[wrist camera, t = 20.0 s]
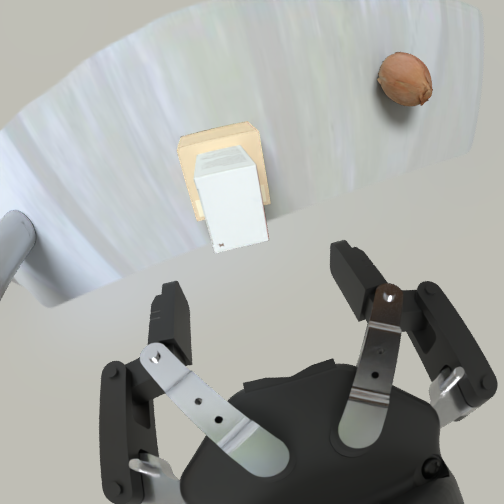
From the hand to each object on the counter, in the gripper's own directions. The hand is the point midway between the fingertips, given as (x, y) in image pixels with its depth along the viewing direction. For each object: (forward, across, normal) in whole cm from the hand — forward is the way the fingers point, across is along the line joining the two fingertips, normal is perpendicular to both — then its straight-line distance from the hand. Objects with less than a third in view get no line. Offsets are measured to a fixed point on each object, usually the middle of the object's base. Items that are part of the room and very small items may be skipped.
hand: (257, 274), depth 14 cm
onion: (+30, -31, -8) cm, 44 cm away
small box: (+22, 0, +3) cm, 22 cm away
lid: (+22, 0, +3) cm, 23 cm away
